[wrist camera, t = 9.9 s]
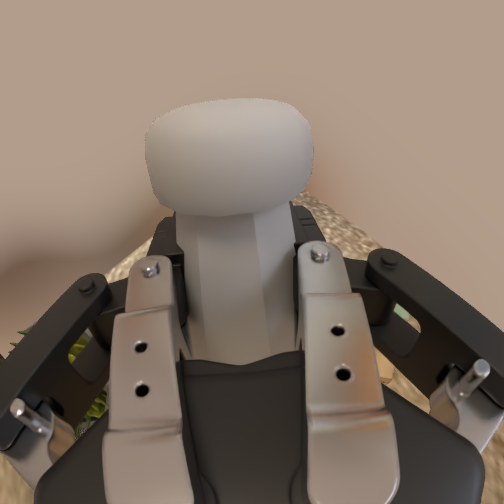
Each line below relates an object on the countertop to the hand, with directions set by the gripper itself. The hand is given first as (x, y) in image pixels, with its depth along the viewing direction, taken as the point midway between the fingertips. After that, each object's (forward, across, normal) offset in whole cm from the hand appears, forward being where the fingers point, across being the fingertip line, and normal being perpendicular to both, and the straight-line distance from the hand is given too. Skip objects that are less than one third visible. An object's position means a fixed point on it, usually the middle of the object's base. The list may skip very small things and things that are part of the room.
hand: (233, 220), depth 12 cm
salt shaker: (-3, 0, +8) cm, 9 cm away
